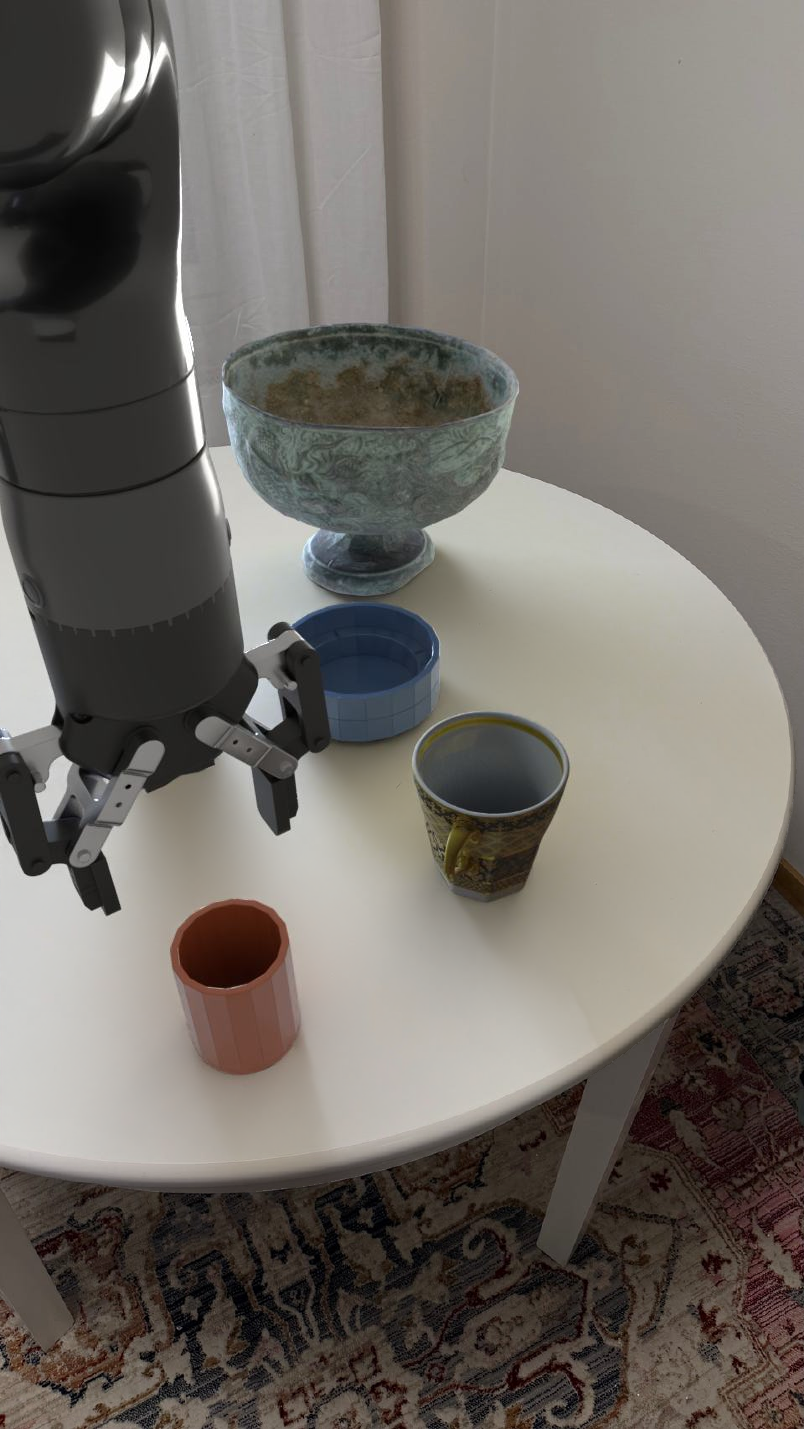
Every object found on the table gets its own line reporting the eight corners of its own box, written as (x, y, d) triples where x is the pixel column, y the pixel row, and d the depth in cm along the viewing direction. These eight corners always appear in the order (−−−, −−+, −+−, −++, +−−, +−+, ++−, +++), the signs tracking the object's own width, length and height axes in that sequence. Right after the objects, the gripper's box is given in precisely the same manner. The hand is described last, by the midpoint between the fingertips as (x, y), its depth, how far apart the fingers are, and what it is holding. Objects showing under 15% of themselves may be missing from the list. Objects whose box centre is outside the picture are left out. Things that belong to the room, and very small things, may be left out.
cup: (198, 1086, 58) (176, 1007, 53) (187, 993, 63) (165, 912, 58) (309, 1059, 59) (298, 978, 54) (289, 970, 64) (277, 888, 59)
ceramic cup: (441, 799, 75) (443, 696, 69) (571, 834, 72) (586, 729, 66) (374, 930, 66) (369, 825, 60) (521, 976, 63) (532, 871, 57)
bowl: (298, 760, 79) (293, 711, 76) (271, 662, 89) (265, 615, 85) (459, 730, 81) (460, 681, 78) (415, 637, 91) (415, 591, 88)
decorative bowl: (185, 547, 103) (159, 353, 90) (375, 472, 116) (378, 294, 103) (349, 672, 88) (348, 463, 75) (546, 571, 101) (574, 378, 88)
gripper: (255, 472, 42) (289, 758, 52) (-100, 577, 36) (18, 875, 47) (347, 549, 37) (364, 847, 48) (-45, 685, 31) (73, 990, 42)
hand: (193, 860), depth 47 cm, fingers open, 8 cm apart
